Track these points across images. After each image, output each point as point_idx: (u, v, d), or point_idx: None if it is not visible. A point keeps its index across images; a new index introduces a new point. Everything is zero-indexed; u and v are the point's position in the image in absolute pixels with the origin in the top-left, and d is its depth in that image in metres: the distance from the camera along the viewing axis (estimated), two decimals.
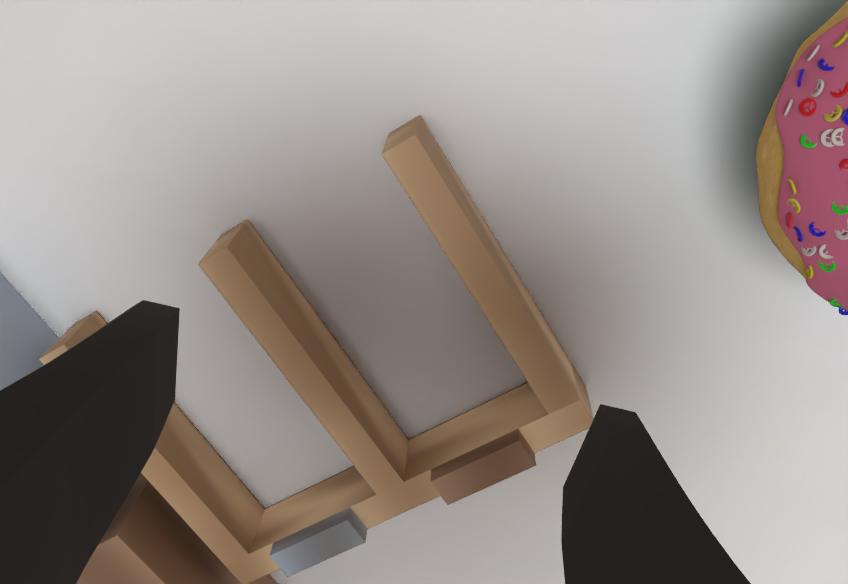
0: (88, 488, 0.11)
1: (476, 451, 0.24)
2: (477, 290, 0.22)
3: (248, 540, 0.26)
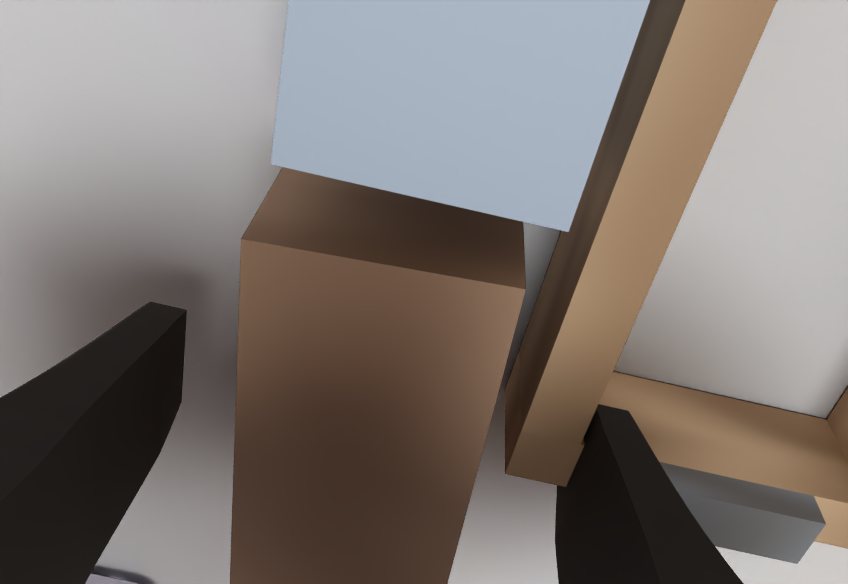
0: (96, 489, 0.11)
1: None
2: None
3: None
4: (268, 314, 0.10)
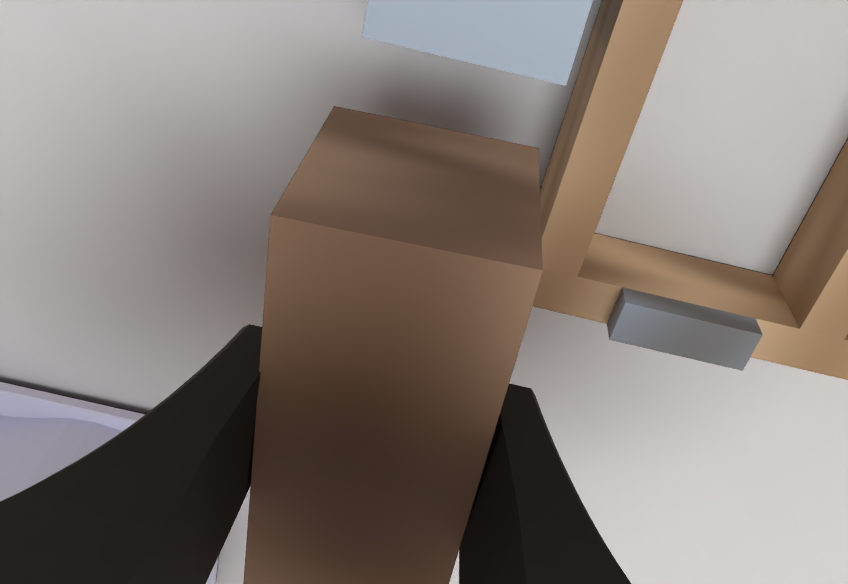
0: (212, 515, 0.11)
1: None
2: None
3: None
4: (293, 289, 0.11)
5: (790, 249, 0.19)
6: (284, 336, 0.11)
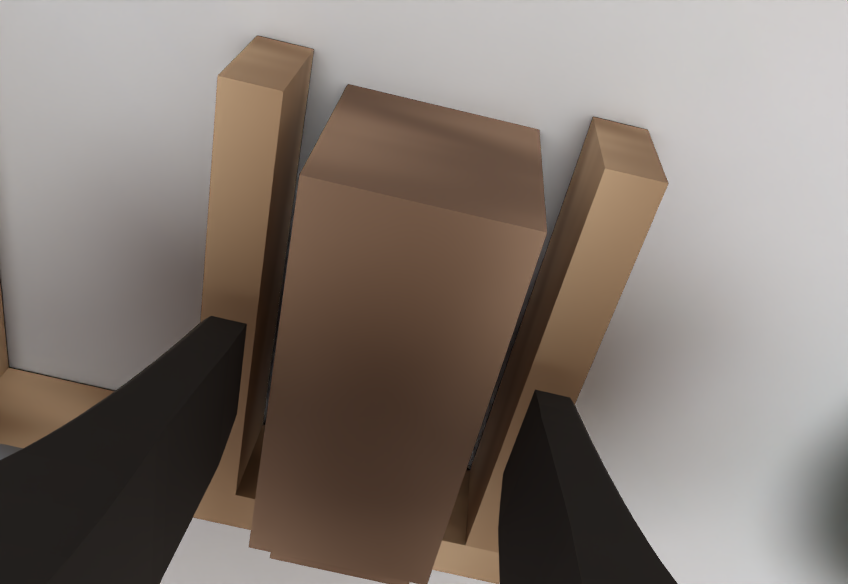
0: (167, 504, 0.11)
1: None
2: (533, 391, 0.15)
3: None
4: (317, 245, 0.12)
5: None
6: (305, 290, 0.12)
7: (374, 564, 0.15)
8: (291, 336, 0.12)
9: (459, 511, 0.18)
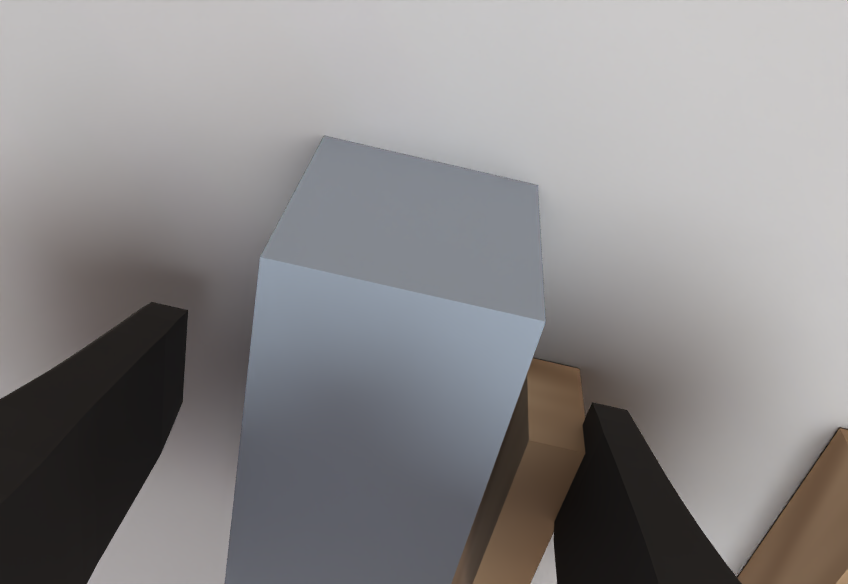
0: (97, 490, 0.11)
1: None
2: None
3: None
4: None
5: None
6: None
7: None
8: None
9: None
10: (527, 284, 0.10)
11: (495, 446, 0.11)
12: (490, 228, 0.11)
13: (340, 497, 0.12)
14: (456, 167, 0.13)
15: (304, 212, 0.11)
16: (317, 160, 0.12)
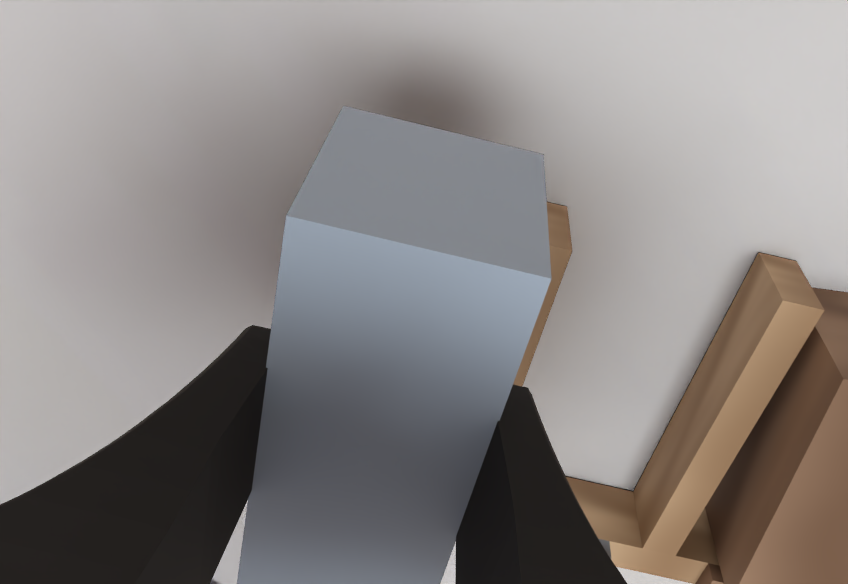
0: (216, 515, 0.11)
1: None
2: None
3: None
4: (842, 417, 0.18)
5: (643, 477, 0.25)
6: (825, 442, 0.18)
7: None
8: (806, 469, 0.19)
9: None
10: (534, 245, 0.11)
11: (502, 399, 0.12)
12: (500, 195, 0.12)
13: (355, 448, 0.12)
14: (466, 140, 0.13)
15: (325, 177, 0.11)
16: (335, 131, 0.13)
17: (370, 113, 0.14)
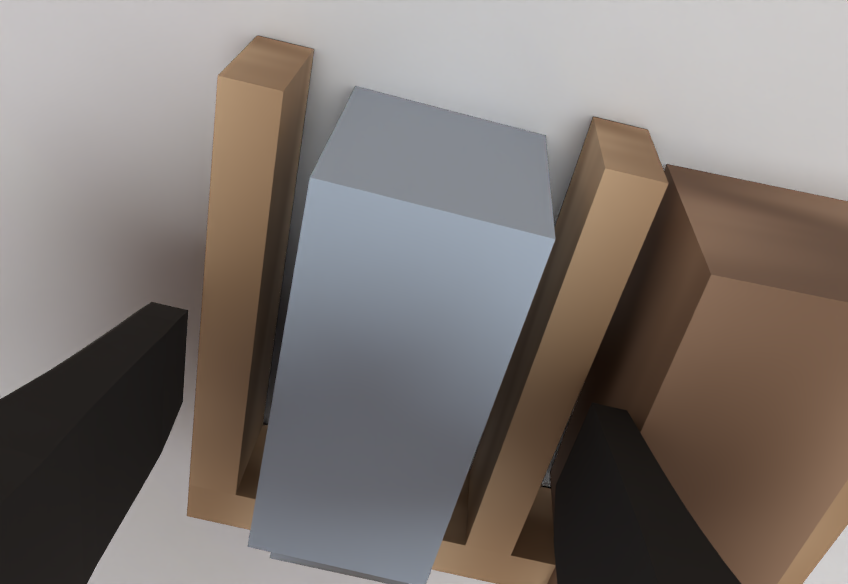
0: (97, 490, 0.11)
1: None
2: None
3: (242, 473, 0.17)
4: (710, 338, 0.12)
5: (478, 450, 0.18)
6: (686, 379, 0.12)
7: None
8: (659, 421, 0.13)
9: None
10: (539, 210, 0.12)
11: (507, 355, 0.12)
12: (505, 166, 0.13)
13: (367, 403, 0.13)
14: (473, 117, 0.14)
15: (344, 145, 0.12)
16: (351, 106, 0.13)
17: None
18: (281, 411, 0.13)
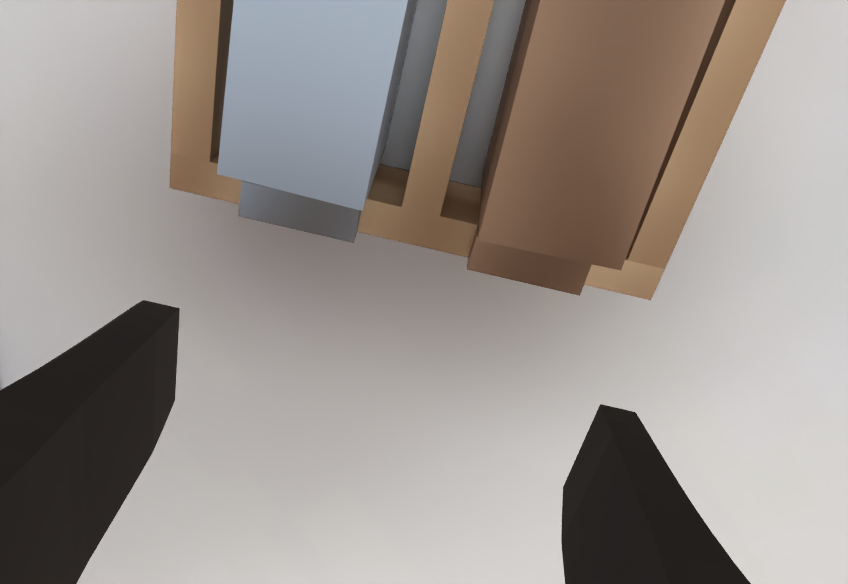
0: (88, 487, 0.11)
1: None
2: (703, 98, 0.18)
3: (215, 147, 0.21)
4: None
5: None
6: None
7: (580, 250, 0.19)
8: (545, 22, 0.16)
9: None
10: None
11: None
12: None
13: (307, 9, 0.16)
14: None
15: None
16: None
17: None
18: (240, 22, 0.17)
